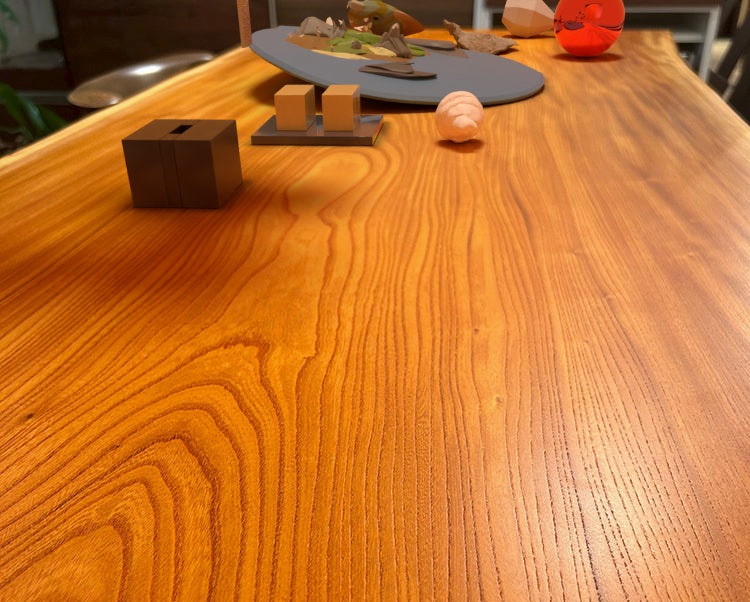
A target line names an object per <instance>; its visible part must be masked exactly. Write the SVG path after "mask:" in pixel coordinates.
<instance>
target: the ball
mask: <svg viewBox="0 0 750 602" xmlns="http://www.w3.org/2000/svg"><path fill="white" fill-rule="evenodd" d="M625 20H626V9H625V5H624V2H623V0H559V2H558V3H557V5H556V8H555V11H554V19H553V28H552V30H553V35H554V37H555V40H556V42H557V43H558V45H559V46H560V48H562V49H563V50H564V51H565V52H566V53H568V54H570V55H572V56H576V57H579V58H581V57H582V58H589V57H596V56H597V57H598V56H599V55H601V54H603V53H605V52H606V51H608V50H609V49H610V48H612V46H613V45H614V44H615V43H616V42H617V41H618V39H619V37H620V36H621V34H622V31H623V29H624V26H625V22H626V21H625Z"/></svg>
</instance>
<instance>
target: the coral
mask: <svg viewBox="0 0 750 602" xmlns="http://www.w3.org/2000/svg"><path fill="white" fill-rule="evenodd" d="M442 22H443V25H444V27H445V29H446V30H447V32H448V33H449V35H450V36H452V37H453V38H454V40H455V42H456V46H458V47H457V48H458V49H464V50H471V51H477V52H483V53H488V54H493V55H497V54H498V53H501V52H506V51H507V49H510V48H512V47H513V46H519V44H518V42H517V41H515V40H514V39H513V38H511V37H510V38H509V37H508V38H506V37H501V36H500V35H496V34H494V33H492V32H486V33H485V32H474V31H473V32H471V31H463V30H462V28H461V26H460V25H458V24H457V23H455V22H454V21H453V22H449V21H448V20H447V19H442Z"/></svg>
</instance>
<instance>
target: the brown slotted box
mask: <svg viewBox="0 0 750 602" xmlns="http://www.w3.org/2000/svg"><path fill="white" fill-rule="evenodd" d="M238 134H239V133H238V125H237V120H236V119H220V118H219V119H213V118H212V119H208V118H207V119H205V118H204V119H201V118H199V119H198V118H192V119H191V118H188V119H187V118H155V119H153V120H150V121H149V122H148V123H147V124H144V125H143V126H141V127H140V128H138V129H137V130H135V131H133V132H131V133H130V134H128V135H127V136H125V137H124V138H122V139H121V145H122V152H123V157H124V162H125V168H126V172H127V178H128V185H129V188H130V194H131V199H132V205H133V207H134V208H168V209H169V208H170V209H171V208H173V209H176V208H177V209H178V208H179V209H182V208H184V209H220V208H221V207H222V206H223V204H225V202H226V201H227V200H228V199H229V198H230V197H231V195H233V194H234V193H235V191H236V190H237V189H238V188H239V187H240V186H241V185H242V184H243V182H244V179H243V171H242V163H241V155H240V154H241V153H240V144H239V136H238Z"/></svg>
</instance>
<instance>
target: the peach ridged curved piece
mask: <svg viewBox="0 0 750 602" xmlns="http://www.w3.org/2000/svg"><path fill="white" fill-rule="evenodd" d="M485 117H486V115H485V112H484V107H483V105H481V103H480V102H479V101H478V99H477V98H476V97H475V96H474V95H473V94H471V93H469V92H466V91H458V92H453V93H450V94H448V95H447V96H446V97H445V98H444V99H443V100H442V101H441V102H440V104H439V105H437V108H436V110H435V113H434V121H435V127H436V130H437V133H438V134H439V135H440V136H441V137H442V138H443V139H445V140H448V141H450V140H451V141H453V142H454V143H456V144H457V143H464V142H467V141H469V140H471V139H472V138H473V137H475V136H476V135H478V134H479V133H480V131H481V130H482V127H483V125H484V122H485Z"/></svg>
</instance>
